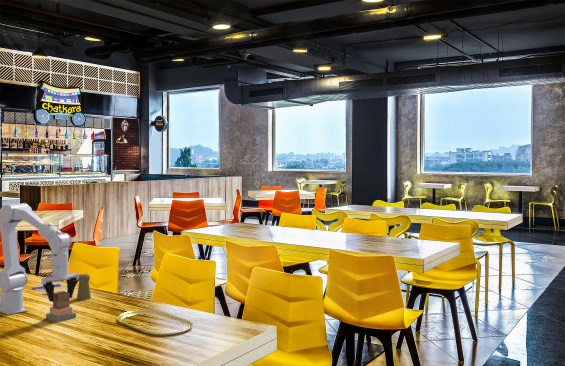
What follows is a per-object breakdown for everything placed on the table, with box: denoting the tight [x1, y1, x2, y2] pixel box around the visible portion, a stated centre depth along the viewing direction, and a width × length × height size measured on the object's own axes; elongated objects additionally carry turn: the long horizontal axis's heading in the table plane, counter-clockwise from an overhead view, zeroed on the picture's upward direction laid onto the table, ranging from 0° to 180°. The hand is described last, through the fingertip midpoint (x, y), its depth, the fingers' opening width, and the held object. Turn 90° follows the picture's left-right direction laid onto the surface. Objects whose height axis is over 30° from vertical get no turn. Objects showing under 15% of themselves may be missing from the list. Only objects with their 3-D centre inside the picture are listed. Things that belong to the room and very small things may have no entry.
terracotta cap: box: [49, 306, 73, 316], centre depth 210 cm, size 6×6×2 cm
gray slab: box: [45, 311, 77, 323], centre depth 211 cm, size 8×8×2 cm
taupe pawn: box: [76, 273, 92, 301], centre depth 241 cm, size 6×6×11 cm
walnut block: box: [52, 290, 71, 309], centre depth 210 cm, size 4×4×6 cm
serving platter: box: [117, 309, 193, 337], centre depth 204 cm, size 19×35×2 cm, turn 48°
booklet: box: [32, 283, 61, 296], centre depth 253 cm, size 12×25×1 cm, turn 40°
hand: (60, 299), depth 210 cm, fingers open, 7 cm apart
